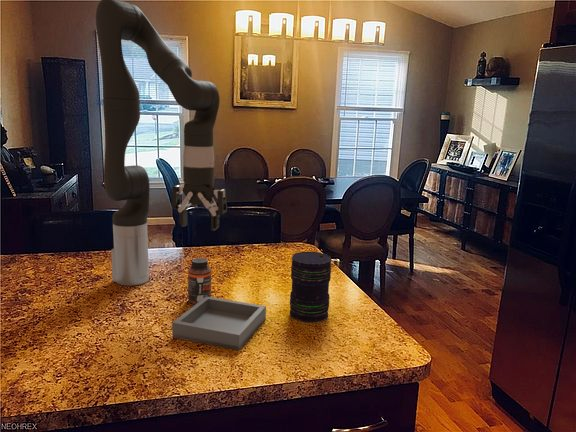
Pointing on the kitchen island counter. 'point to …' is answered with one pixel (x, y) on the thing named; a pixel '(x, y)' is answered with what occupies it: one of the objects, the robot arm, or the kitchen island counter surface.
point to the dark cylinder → (310, 286)
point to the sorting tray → (219, 322)
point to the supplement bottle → (199, 280)
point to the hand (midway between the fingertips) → (199, 228)
